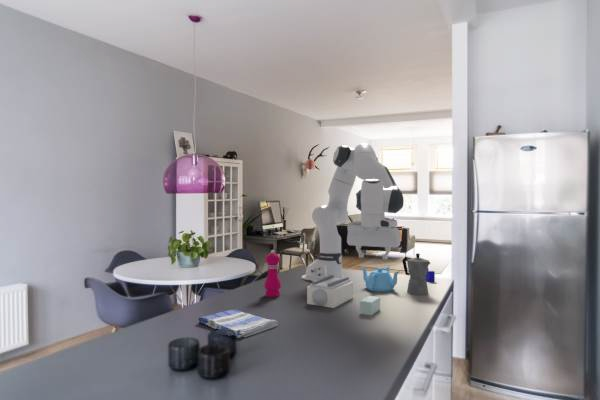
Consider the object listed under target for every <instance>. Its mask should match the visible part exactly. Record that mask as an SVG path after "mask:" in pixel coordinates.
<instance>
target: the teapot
mask: <svg viewBox="0 0 600 400" xmlns="http://www.w3.org/2000/svg"><path fill="white" fill-rule="evenodd" d="M360 268H361V269H362V272H363V281H364V282H365V288H367V290H369V291H371V292H377V293H378V292H379V293H385V292H387V293H388V292H391V291H393V290H394V289H395V286H396V285H397V283H398V274H399V273H400V271H395V272H394V273H393V277H392V275H391V274H390V265H389V266H386V267H385V270H384V268H383V267H377V268H376V269H375V270H372V271H371V272H369V274H368V272H367V269H366V268H365V267H363V266H360Z"/></svg>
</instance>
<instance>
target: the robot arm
mask: <svg viewBox="0 0 600 400" xmlns="http://www.w3.org/2000/svg"><path fill="white" fill-rule="evenodd" d="M332 158H333V160H332V162H333V164H334V166H336V169H335V171H334V174H333V177H332V179H331V181H330V184H329V188H328V190H327V191H328V196H329V199H328V204H322V205H318V206H317V207H315V208H314V209H313V210H312V214H311V217H312V222H313V223H314V224H315V226H316V228H317V231H318V236H319V252H317V253H315V257H316V259H315V260H314V261H312V262H311V263H310V264H309V265H308V266H307V267H306V269H305V270H306V271H305V274H303V275H302V276H301V280H306V281H311V282H313V281H316V280H318V279H321V278H324V277H327V276H330V275H334V278H344V277H345V276H344V273H343V267H342V265H343V264H342V263H343V252H342V237H341V235H340V234H339V231H338V226H339V225H342V224H344V223H345V222H347V220H348V218H349V211H348V203H349V197H350V195H351V191H352V189H353V186H354V184H355V181H356V177H357V178H359V179H360V180H362V182H361V188H360V189H359V190H358V192H357V191H356V194H355V196H356V197H355V198H356V206H355V208H357V210H359V211H360V221H350V222H349V223H348V224H347V236H346V243H347V245H348V246H352V247H353V246H355V249H356V251H357V253H358V258H359V259H363V258H364V257H365V252H362V250H361V249H362V247H375V248H376V247H378V248H384V250H385V253H383V254H382V260H385V261H386V260H388V258H389V254H390V252H391V248H392V249H394V248H395V249H396V248H399V247H400V245H401V234H400V231H399V229H398V221H397V220H395V219H391V218H389V217H386V216H385V213H388V214H396V213H398V212H399V211H401V210H402V208H403V207H404V201H405V200H404V195H403V193H402V191H401V189H399V187H398V186H397V184H396V181H395V179H394V178H393V175H392V174H391V172H390V171H389V168H388V167H387V166H386V165H383V164H382V163H381V162H379V160H378V157H377V154H376V151H375V150H374V148H373V147H372V145H370V144H369V143H366V142H365V143H364V142H363V143H359V144H357V146H355V148H354V147H349V146H348V145H339V146H337V148H336V149H335V150H334V152H333V157H332Z"/></svg>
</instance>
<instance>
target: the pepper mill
mask: <svg viewBox="0 0 600 400" xmlns="http://www.w3.org/2000/svg"><path fill="white" fill-rule="evenodd" d="M265 262H266V263H267V265H266V268H267V277H266V279H265V281H264V288H265V296H266V297H268V298H276V297H280V296H281V291H280V289H281V287H282V283H281V280H280V278H279V276H278V269H279V262H280V256H279V254H277V253H276V252H275V250H274V249H272V250H270V253H268V254H267V255H266V257H265Z"/></svg>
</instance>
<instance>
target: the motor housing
mask: <svg viewBox="0 0 600 400" xmlns="http://www.w3.org/2000/svg"><path fill="white" fill-rule="evenodd" d="M306 287H307V289H306V301H307V302H306V303H307V305H313V306H319V307H326V308H332V309H335V308H337V307H339V306H340V305H342V304H344V303H346V302H348V301H349V300H352V299H354V282H353V281H351V279H350V278H349V276H344V278H334V275H330V276H327V277H324V278H321V279H318V280H316V281H311V283H310V284H309V285H308V286H306Z"/></svg>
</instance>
